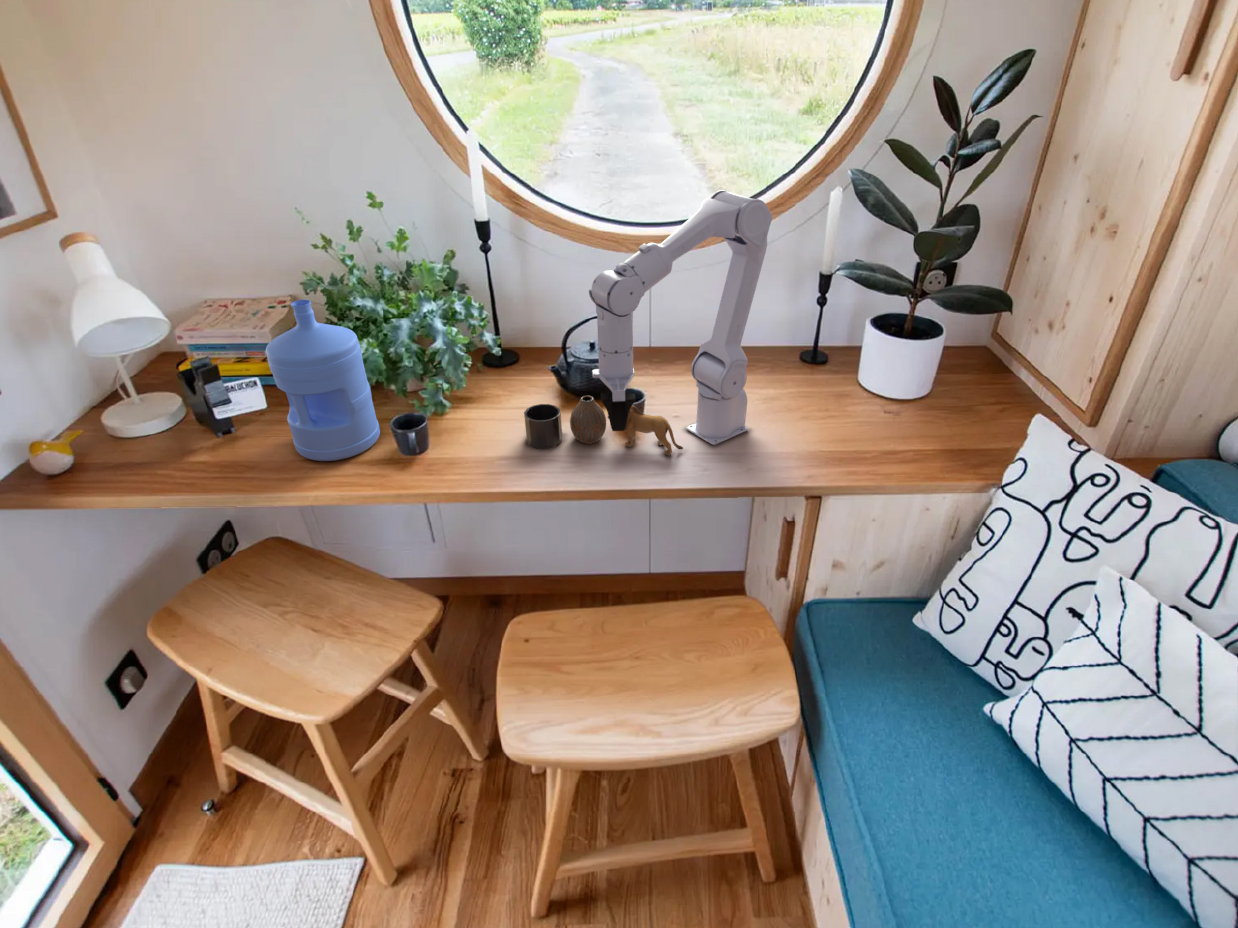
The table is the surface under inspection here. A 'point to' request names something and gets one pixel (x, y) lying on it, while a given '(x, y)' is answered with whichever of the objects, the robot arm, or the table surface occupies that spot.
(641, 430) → the lion figurine
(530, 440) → the tea cup
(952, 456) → the table surface
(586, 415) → the vase
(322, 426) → the water jug
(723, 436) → the robot arm
